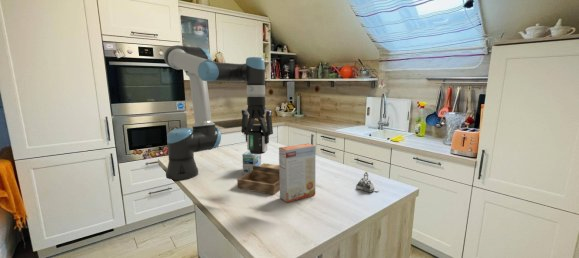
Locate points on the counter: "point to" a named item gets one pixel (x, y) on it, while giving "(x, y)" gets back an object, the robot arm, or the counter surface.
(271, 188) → the brown wooden drawer
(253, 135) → the supplement bottle
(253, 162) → the light bulb box
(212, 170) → the counter surface
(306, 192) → the cracker box
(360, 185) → the grey lumpy piece
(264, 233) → the counter surface
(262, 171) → the lid
